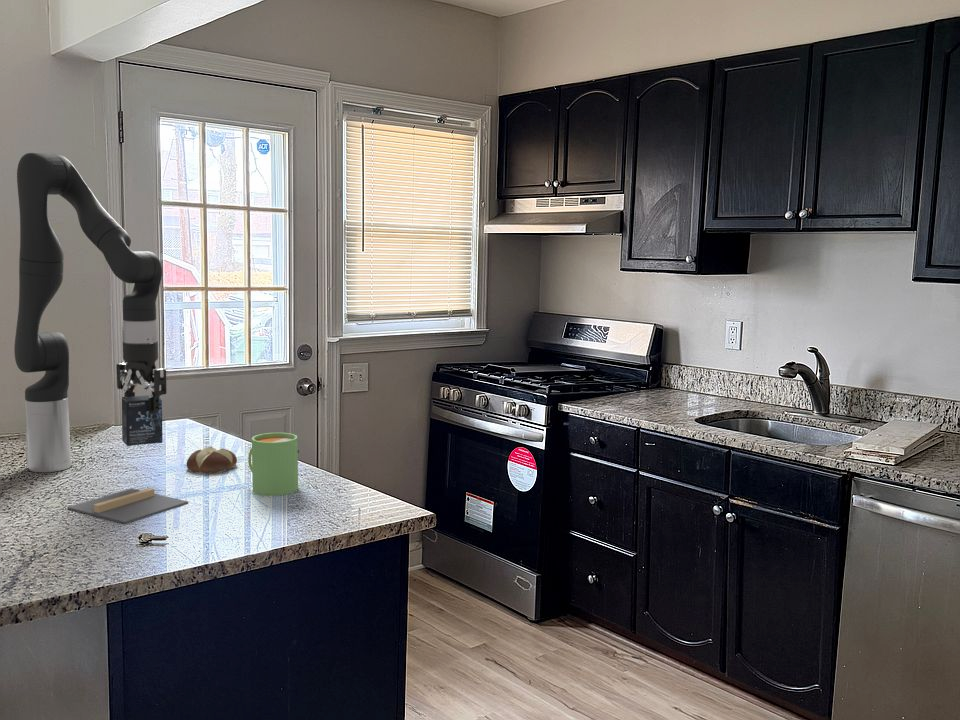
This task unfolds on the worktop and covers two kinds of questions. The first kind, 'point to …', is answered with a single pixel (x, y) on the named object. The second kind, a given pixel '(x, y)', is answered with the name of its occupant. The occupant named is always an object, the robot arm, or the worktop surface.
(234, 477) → the worktop surface
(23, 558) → the worktop surface
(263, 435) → the mug
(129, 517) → the mat
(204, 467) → the bread
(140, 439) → the box
